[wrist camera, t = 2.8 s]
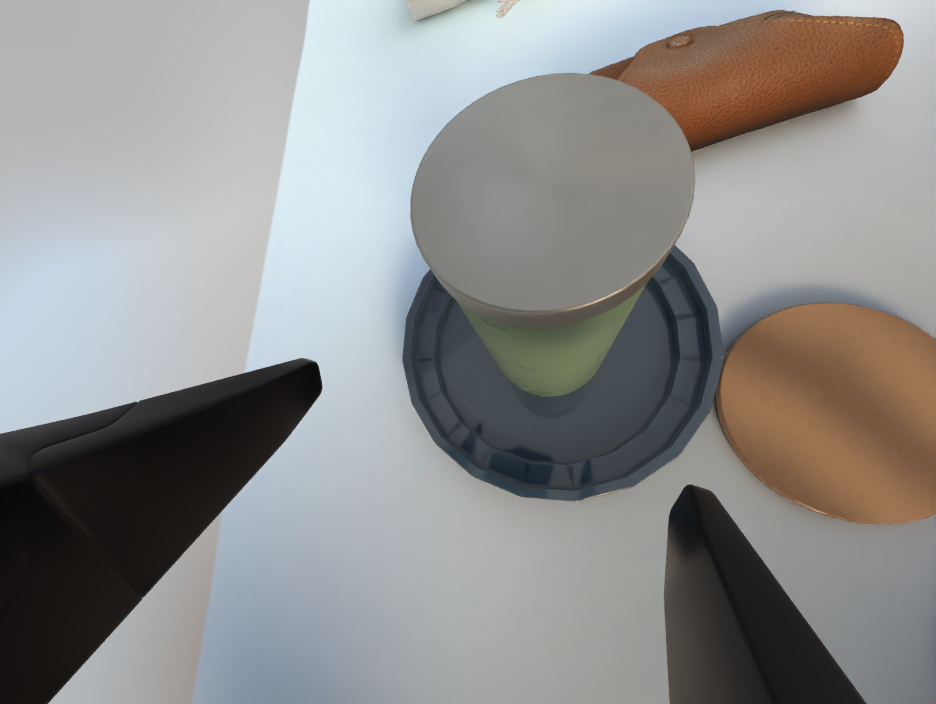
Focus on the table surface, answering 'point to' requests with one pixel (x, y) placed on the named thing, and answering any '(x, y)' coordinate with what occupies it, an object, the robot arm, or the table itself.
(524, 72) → the table surface
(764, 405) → the coaster
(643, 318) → the plate
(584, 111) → the tea tin
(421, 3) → the woman figurine
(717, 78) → the sunglasses case
